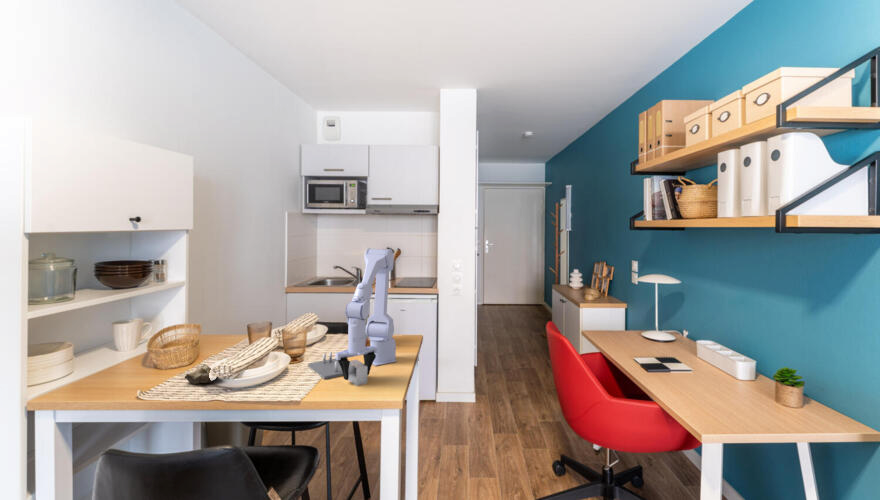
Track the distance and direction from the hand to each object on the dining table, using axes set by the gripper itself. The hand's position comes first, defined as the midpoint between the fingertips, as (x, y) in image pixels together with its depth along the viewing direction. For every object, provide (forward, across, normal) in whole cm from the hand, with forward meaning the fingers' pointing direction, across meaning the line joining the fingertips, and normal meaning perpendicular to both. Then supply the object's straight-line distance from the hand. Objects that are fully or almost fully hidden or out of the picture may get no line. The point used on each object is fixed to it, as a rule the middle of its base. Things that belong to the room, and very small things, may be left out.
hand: (356, 376), depth 139 cm
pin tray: (+1, -2, +15) cm, 15 cm away
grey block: (+2, 0, 0) cm, 2 cm away
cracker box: (+2, +19, +36) cm, 41 cm away
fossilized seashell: (+2, -42, +27) cm, 50 cm away
